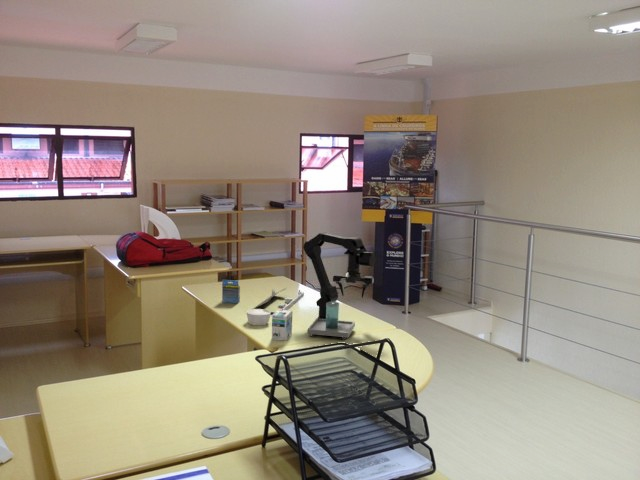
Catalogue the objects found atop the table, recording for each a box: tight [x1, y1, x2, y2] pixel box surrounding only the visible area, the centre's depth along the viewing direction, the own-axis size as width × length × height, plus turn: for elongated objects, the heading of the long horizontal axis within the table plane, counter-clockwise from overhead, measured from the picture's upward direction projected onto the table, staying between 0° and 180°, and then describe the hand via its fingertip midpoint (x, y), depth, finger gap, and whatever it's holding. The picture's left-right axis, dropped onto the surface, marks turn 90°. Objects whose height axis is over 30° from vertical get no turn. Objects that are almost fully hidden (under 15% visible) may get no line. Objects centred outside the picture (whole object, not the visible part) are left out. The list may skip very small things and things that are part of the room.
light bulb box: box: [271, 308, 293, 341], centre depth 261 cm, size 11×7×11 cm, turn 168°
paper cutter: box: [252, 287, 305, 314], centre depth 317 cm, size 18×45×6 cm, turn 166°
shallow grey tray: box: [307, 317, 356, 341], centre depth 268 cm, size 18×18×4 cm
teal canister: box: [326, 301, 340, 329], centre depth 267 cm, size 6×6×11 cm
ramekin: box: [246, 308, 272, 326], centre depth 281 cm, size 11×11×5 cm
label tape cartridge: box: [221, 279, 241, 304], centre depth 317 cm, size 9×4×12 cm, turn 84°
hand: (352, 296), depth 283 cm, fingers open, 9 cm apart
